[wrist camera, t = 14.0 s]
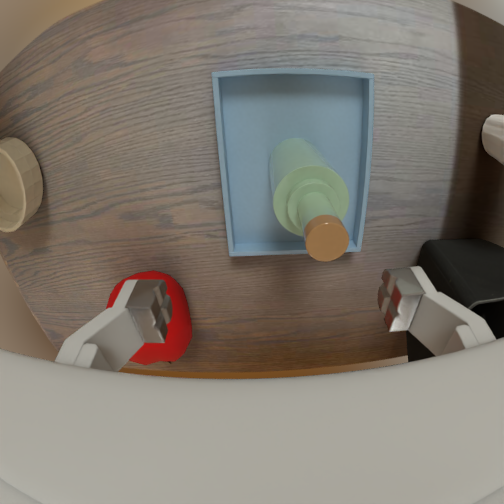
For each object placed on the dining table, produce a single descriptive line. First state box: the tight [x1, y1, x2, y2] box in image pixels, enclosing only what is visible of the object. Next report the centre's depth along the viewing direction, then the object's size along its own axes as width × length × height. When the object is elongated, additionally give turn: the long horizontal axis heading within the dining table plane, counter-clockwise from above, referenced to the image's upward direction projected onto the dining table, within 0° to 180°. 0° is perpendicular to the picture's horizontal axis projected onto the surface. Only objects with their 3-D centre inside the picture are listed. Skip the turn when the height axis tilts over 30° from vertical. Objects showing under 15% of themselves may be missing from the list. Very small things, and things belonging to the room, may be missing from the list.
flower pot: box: [406, 239, 504, 362], centre depth 33 cm, size 19×19×17 cm
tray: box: [212, 68, 374, 256], centre depth 31 cm, size 21×16×3 cm
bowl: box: [0, 137, 43, 232], centre depth 30 cm, size 13×13×5 cm
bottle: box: [269, 138, 349, 262], centre depth 24 cm, size 6×6×17 cm
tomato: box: [106, 271, 192, 365], centre depth 38 cm, size 13×13×13 cm
